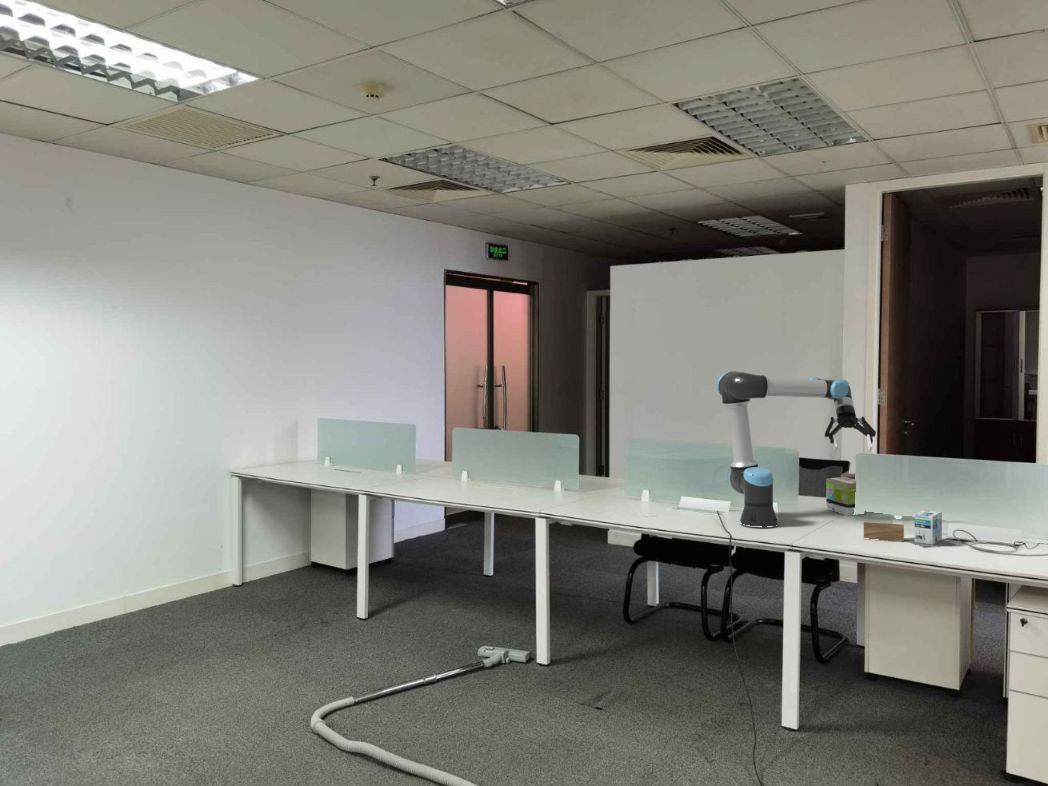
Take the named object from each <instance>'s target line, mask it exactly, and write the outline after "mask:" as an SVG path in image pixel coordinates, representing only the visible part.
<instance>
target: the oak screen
mask: <svg viewBox="0 0 1048 786" xmlns="http://www.w3.org/2000/svg"><path fill="white" fill-rule="evenodd" d="M864 538H869V539H879V540H878V541H881V540H888V541H887V542H895V541H903V542H902V543H905V541H904V538H905V524H902V523H901V524H900V523H888V522H887V523H886V522H885V523H884V522H871V521H870V522H869V521H863V539H864Z"/></svg>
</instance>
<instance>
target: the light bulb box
mask: <svg viewBox="0 0 1048 786" xmlns="http://www.w3.org/2000/svg"><path fill="white" fill-rule="evenodd" d="M942 531H943V512H942V511H937V510H936V511H935V510H927V509H923V510H921V511H919V512H916V513H914V537H915V542H917V543H924V544H931V545H933V544H935V543H937V542H939V541H941V540H943V532H942Z"/></svg>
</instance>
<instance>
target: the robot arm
mask: <svg viewBox="0 0 1048 786" xmlns="http://www.w3.org/2000/svg"><path fill="white" fill-rule="evenodd" d="M716 385H717V386H716V387H717V388H716V389H717V392H718V393H719V395H720V396H721V399H722V405H723V406H724V407H726V411H727V412H726V413H727V421H728V428H729V437H730V444H731V451H732V459H733V460H732V462H731V464H730V472H729V474H728V483H729V485H730V486H731V488H732V489H733V490H734V491H736V492H737V493H739V494H741V495H743V499H744V500H743V501H744V504H743V505H744V506H743V509H742V512H741V515H740V519H739V520H740V521H739V522H741V523H742V524H745V525H750V526H762V527H767V526H776V525H777V524H778V518H777V515H776V511H775V509H774V477H773V472H772V471H771V470H769V469H767V468H763V467H759V464H758V461H757V460H755V459H754V452H753V451H754V450H753V446H752V445H753V444H752V437H751V436H752V435H751V427H750V419H749V410H748V404H749V403H750V401H751V399H765V398H767V397H791V398H793V397H794V398H796V397H797V398H824V399H825V398H826V399H828V400H833V403H834V408H835V413H836V418H834V416H831V417H830V420H829V423H828V426H827V428H826V429H825V432H824V438H828V439H829V441H830V442H829V443H830V444H832V445H833V450H834V451H835V452H836V451H837V449H838V445H837V439H836V434H837V433H838V432H839V431H840V430H842V428H844V429H848V428H849V429H855V430H857V431H859V433H861V434H862V435H864V436H865V437H866V438H865V439H866V444H867V448H868V451H869V452H871V451H872V448H873V445H872V444H873V442H874V439H873V437H874V438H875V437H876V435H877V431H876V430H875V429H874V428H873V427H872V425H870V424H869V422H868V421H867V420H866V418H865V416H861V417H860V418H859V417H857V415H856V414H857V413H856V411H855V405H854V401H853V395H852V390H851V387H850V383H849V382H848V381H847V380H846V379H842V378H840V379H836V380H835V379H823V378H818V377H810V378H808V379H804V378H779V377H768V376H767V375H762V374H754V373H753V374H752V373H747V372H745V371H744V372H743V371H736V370H735V371H727V372H725V373H723V374H722V375H721V376H720V377H719V378H718V381H717V384H716ZM835 423H837V425H836V426H835V427H834V428H833V425H835ZM832 428H833V429H832ZM777 526H778V525H777ZM777 526H776V527H777Z"/></svg>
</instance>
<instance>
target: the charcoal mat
mask: <svg viewBox="0 0 1048 786" xmlns="http://www.w3.org/2000/svg"><path fill="white" fill-rule="evenodd" d="M904 540H905V541H904V542H907V541H908V542H907V543H910V542H911V543H910V544H913V545H915V544H917V545H916V546H918V545H919V546H918V547H921V546H922V548H932V547H931V546H938V547H947V546H946V545H951V546H956V543H953V542H950V541H948V540H944V539H942V540H941V541H939V542H937V543H935V544H933V545H931V544H924V543H917V542H915V536H914V537H904Z"/></svg>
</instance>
